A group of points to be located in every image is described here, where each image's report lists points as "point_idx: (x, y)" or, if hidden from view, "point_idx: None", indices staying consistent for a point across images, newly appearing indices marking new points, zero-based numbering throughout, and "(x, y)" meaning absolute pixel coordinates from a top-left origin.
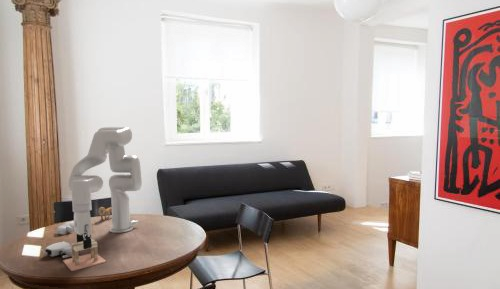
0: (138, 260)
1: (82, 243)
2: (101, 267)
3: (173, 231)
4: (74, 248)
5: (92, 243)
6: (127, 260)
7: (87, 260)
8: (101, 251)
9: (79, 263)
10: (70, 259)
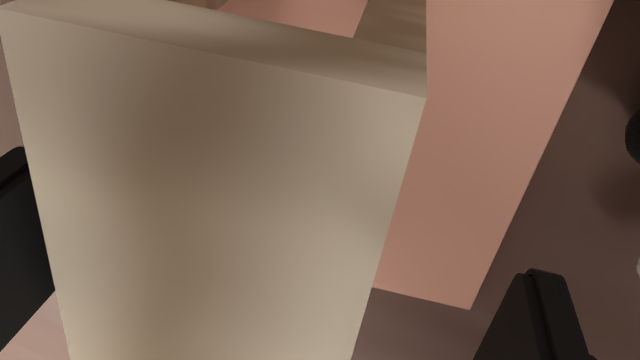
0: (11, 351)
1: (207, 258)
2: (11, 123)
3: None
4: (127, 11)
5: (73, 338)
6: (57, 321)
7: None
8: (465, 351)
9: (260, 11)
10: (549, 3)
